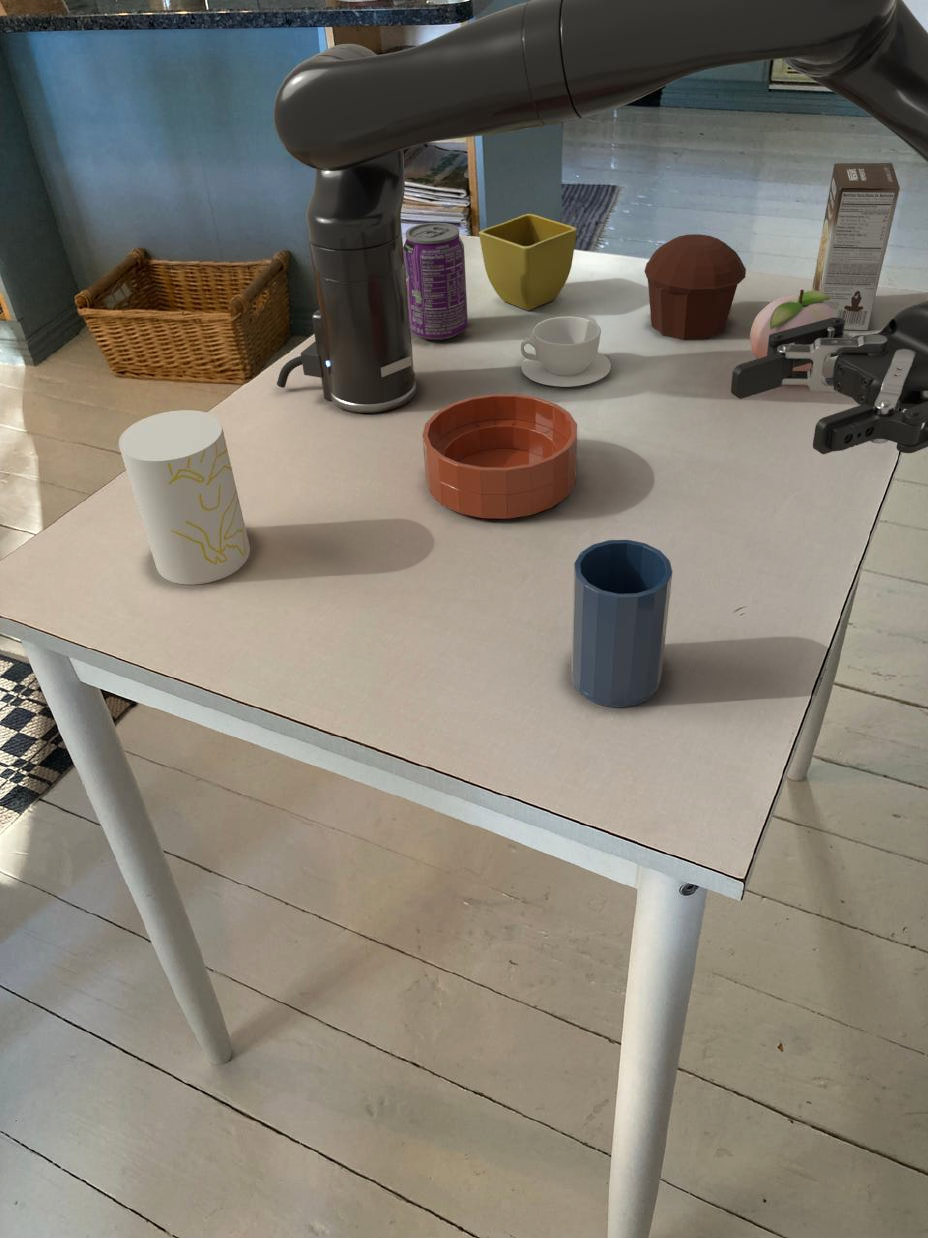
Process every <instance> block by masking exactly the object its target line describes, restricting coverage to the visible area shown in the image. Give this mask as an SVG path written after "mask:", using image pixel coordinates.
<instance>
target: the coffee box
mask: <svg viewBox="0 0 928 1238" xmlns="http://www.w3.org/2000/svg"><path fill="white" fill-rule="evenodd" d="M831 176H832V177H831V181H830V185H829V190H828V191H829V192H828V196H827V203H826V208H825V214H824V219H823V223H822V231H821V236H820V241H819V243H820V244H819V247H818V252H817V259H816V264H815V269H814V274H813V275H814V276H813V280H812V286H811V291H820V292H823V293H824V294H826V295H827V296H829V298H830V300H825V301H824V302H825V303H826V304H828V305H829V306H830V307H831V308H832V309H833V311H834V312H835V314H836V317H837V318H842V319H844V320H845V326H844V331H845V330H846V331H848V330H849V331H850V330H851V331H869V327H870V322H871V317H872V313H873V310H874V309H873V308H874V304H875V300H876V295H877V290H878V287H879V286H878V285H879V283H880V277H881V274H882V270H883V264H884V260H885V256H886V252H887V248H888V242H889V239H890V234H891V230H892V225H893V221H894V216H895V214H896V213H895V212H896V208H897V203H898V199H899V194H900V191H901V187H900V183H899V180H898V178H897V175H896V171H895V167H894V165H893V163H892V162H835V163H833V168H832V175H831Z"/></svg>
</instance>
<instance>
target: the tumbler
mask: <svg viewBox="0 0 928 1238" xmlns="http://www.w3.org/2000/svg"><path fill="white" fill-rule="evenodd" d="M573 563H574V564H573V594H572V595H573V596H572V597H573V598H572V627H571V628H572V631H571V663H570V664H571V666H570V667H571V680H572V681H571V682H572V684H573V686H574V688H575V689H576V690H577V692H578V693H579V694H580V695H581V696H583V698H585V699H587V700H589V702H592V703H594V704H597V705H599V706H604V707H610V708H627V707H628V708H629V707H633V706H637V705H640V704H642V703H644V702H646V701H648V700H649V699H651V698H652V697H653V696H654V695H655V693H656V692H658V689H659V687H660V683H661V678H662V674H663V666H664V665H663V664H664V653H665V645H666V637H667V636H666V635H667V627H668V617H669V608H670V599H671V590H672V589H671V588H672V580H673V569H672V563H671V560H670V559H669V558H668V557H667V556H666V555H665V554H664V553H663V552H662V551H661V550H660V549H658V548H655V547H654V546H652V545H650V544H648V543H645V542H641V541H636V540H632V539H608V540H605V541H601V542H597V543H594V544H591V545H589V546H588V547H587V548H585V549H584V550H582V551H581V552H580V553H579V554H578V556H577V558H576V560H575V561H574V562H573Z"/></svg>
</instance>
